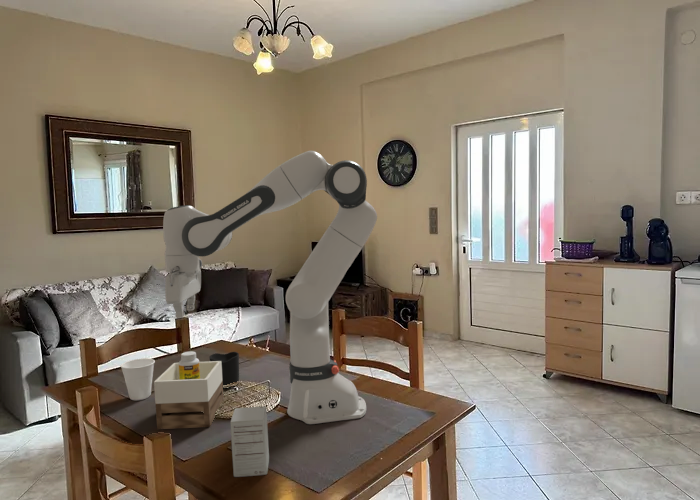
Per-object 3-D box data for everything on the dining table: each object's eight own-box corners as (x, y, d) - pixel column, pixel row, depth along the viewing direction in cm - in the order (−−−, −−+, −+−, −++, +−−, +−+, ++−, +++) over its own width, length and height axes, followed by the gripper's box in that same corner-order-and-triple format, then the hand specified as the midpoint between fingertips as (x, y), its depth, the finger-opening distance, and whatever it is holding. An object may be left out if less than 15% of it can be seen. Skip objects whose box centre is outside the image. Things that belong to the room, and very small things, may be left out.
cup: (119, 405, 148) (117, 369, 147) (126, 393, 158) (124, 360, 157) (154, 401, 150) (152, 366, 149) (159, 389, 160) (157, 356, 159)
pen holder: (226, 391, 156) (225, 361, 155) (205, 387, 161) (203, 357, 160) (246, 382, 165) (244, 353, 164) (224, 378, 169) (223, 350, 168)
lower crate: (223, 403, 147) (222, 380, 146) (209, 426, 131) (208, 401, 130) (176, 405, 146) (175, 382, 146) (157, 429, 130) (155, 403, 130)
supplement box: (237, 460, 113) (234, 407, 112) (269, 458, 113) (267, 405, 112) (232, 478, 105) (229, 421, 104) (267, 475, 106) (264, 419, 105)
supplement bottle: (183, 394, 134) (180, 357, 133) (177, 388, 139) (175, 352, 138) (203, 389, 137) (201, 353, 136) (197, 383, 142) (195, 349, 141)
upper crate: (222, 380, 146) (221, 361, 146) (208, 401, 130) (207, 379, 130) (175, 382, 146) (174, 362, 145) (155, 403, 130) (153, 381, 129)
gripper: (182, 268, 125) (185, 322, 126) (203, 260, 145) (206, 306, 146) (157, 269, 125) (160, 323, 126) (182, 261, 145) (185, 307, 146)
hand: (185, 313), depth 136 cm, fingers open, 8 cm apart
